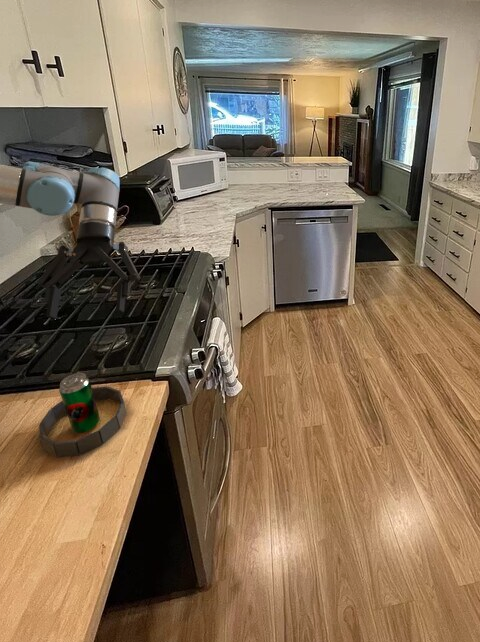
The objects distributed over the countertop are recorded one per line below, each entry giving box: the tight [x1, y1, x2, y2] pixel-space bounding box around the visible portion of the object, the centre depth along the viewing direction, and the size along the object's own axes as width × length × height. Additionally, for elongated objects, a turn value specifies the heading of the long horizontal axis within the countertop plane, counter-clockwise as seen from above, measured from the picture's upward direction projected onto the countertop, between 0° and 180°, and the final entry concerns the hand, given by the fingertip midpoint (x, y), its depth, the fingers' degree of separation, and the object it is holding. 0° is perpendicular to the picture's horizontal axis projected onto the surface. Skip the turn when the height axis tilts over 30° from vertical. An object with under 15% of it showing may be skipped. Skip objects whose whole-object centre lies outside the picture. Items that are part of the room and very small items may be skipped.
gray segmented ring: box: [38, 386, 128, 459], centre depth 75 cm, size 15×15×4 cm
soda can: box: [58, 372, 101, 434], centre depth 73 cm, size 5×5×12 cm
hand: (86, 314), depth 78 cm, fingers open, 13 cm apart
